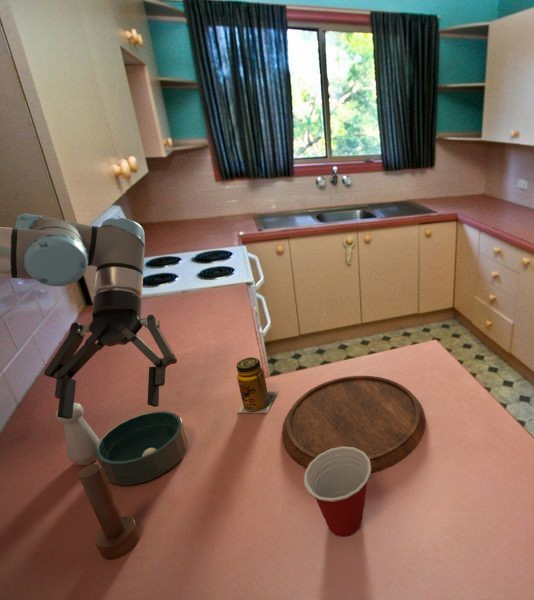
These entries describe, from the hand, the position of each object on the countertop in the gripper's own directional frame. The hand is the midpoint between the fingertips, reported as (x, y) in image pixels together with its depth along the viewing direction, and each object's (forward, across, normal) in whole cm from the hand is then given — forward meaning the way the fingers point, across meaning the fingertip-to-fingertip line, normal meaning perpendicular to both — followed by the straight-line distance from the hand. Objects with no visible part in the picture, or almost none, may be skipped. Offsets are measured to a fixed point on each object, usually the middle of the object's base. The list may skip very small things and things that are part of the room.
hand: (109, 411), depth 72 cm
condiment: (-3, -19, -30) cm, 36 cm away
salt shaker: (+5, +14, -23) cm, 27 cm away
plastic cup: (+24, -37, -3) cm, 44 cm away
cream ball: (+7, 0, -18) cm, 19 cm away
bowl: (+7, +2, -20) cm, 22 cm away
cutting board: (+6, -42, -21) cm, 47 cm away
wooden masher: (+21, 0, -6) cm, 22 cm away
